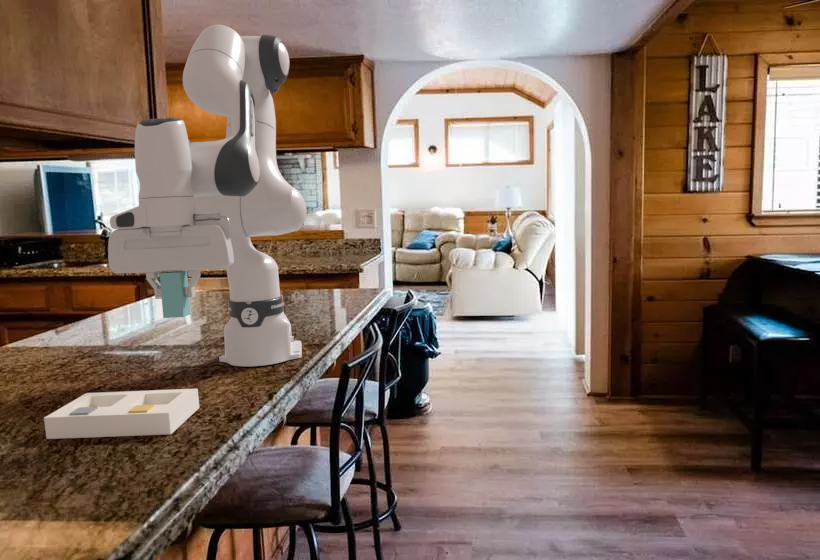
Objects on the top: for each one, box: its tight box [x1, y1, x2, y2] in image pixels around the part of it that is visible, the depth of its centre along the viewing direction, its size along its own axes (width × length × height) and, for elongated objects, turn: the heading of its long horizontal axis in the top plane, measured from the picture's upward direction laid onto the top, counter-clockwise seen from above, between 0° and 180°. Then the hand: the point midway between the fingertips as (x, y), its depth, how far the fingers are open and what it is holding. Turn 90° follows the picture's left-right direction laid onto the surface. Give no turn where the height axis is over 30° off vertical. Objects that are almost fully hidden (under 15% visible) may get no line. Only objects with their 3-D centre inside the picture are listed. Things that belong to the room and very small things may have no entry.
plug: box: [159, 270, 192, 319], centre depth 112 cm, size 3×3×8 cm
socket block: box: [43, 388, 200, 440], centre depth 111 cm, size 13×20×4 cm, turn 88°
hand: (175, 297), depth 112 cm, fingers closed on plug, 3 cm apart
